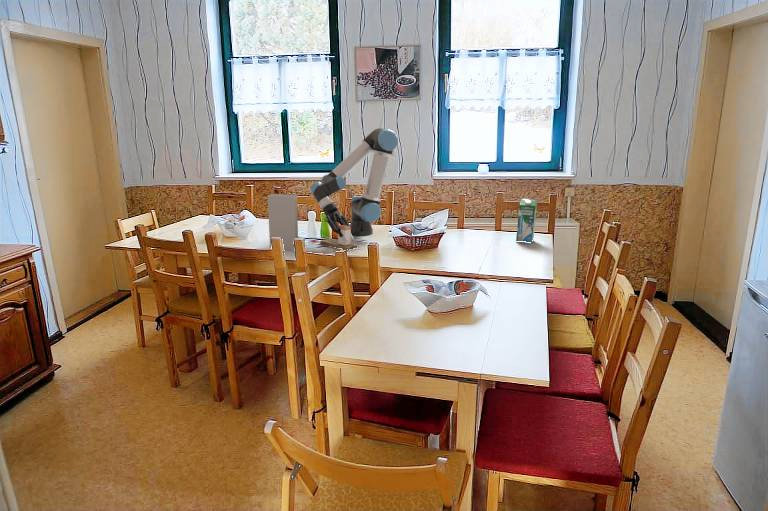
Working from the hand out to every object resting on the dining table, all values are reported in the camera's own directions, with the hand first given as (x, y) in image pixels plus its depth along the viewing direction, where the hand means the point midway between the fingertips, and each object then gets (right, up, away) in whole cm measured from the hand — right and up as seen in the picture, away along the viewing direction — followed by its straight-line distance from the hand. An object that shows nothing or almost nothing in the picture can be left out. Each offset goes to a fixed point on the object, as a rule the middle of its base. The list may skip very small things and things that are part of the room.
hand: (349, 240), depth 279 cm
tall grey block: (-35, -5, -3) cm, 36 cm away
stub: (-3, -2, +3) cm, 5 cm away
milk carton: (+103, 0, +25) cm, 106 cm away
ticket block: (-6, -3, +7) cm, 9 cm away
